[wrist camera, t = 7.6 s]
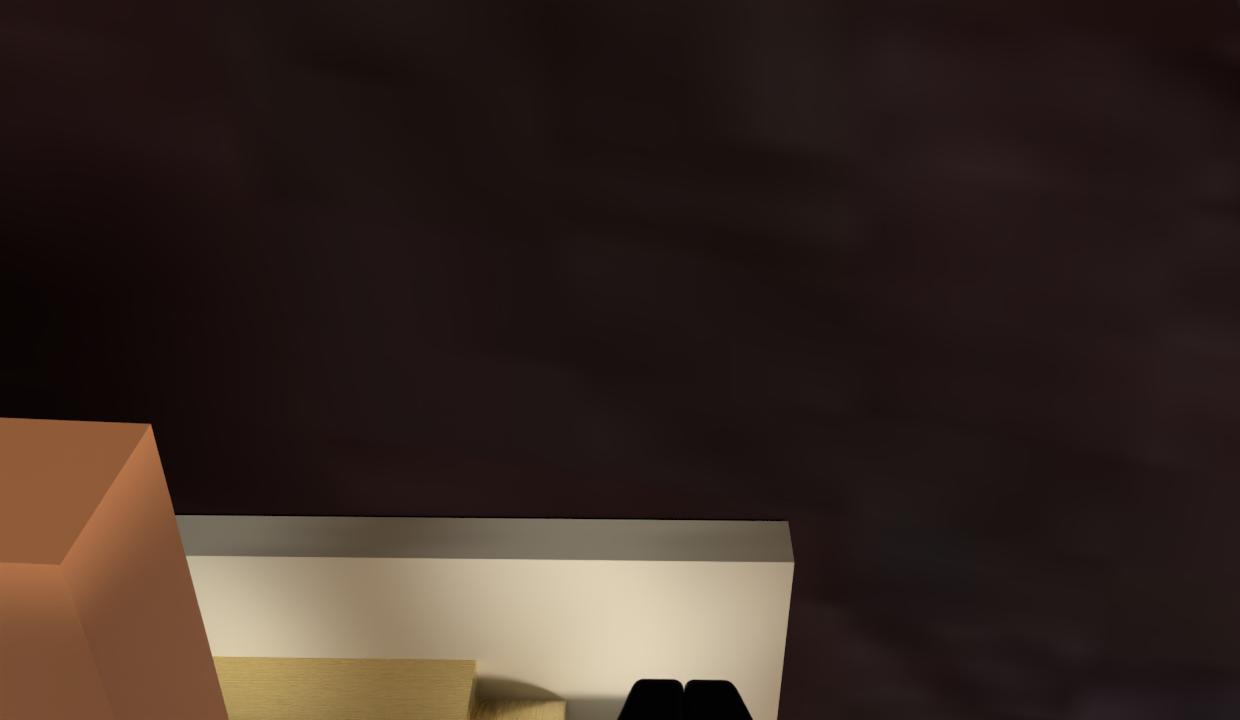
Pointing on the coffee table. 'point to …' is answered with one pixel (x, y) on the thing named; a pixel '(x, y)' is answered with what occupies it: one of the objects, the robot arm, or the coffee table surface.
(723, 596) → the valve board
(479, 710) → the valve
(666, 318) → the coffee table surface
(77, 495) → the valve lever
